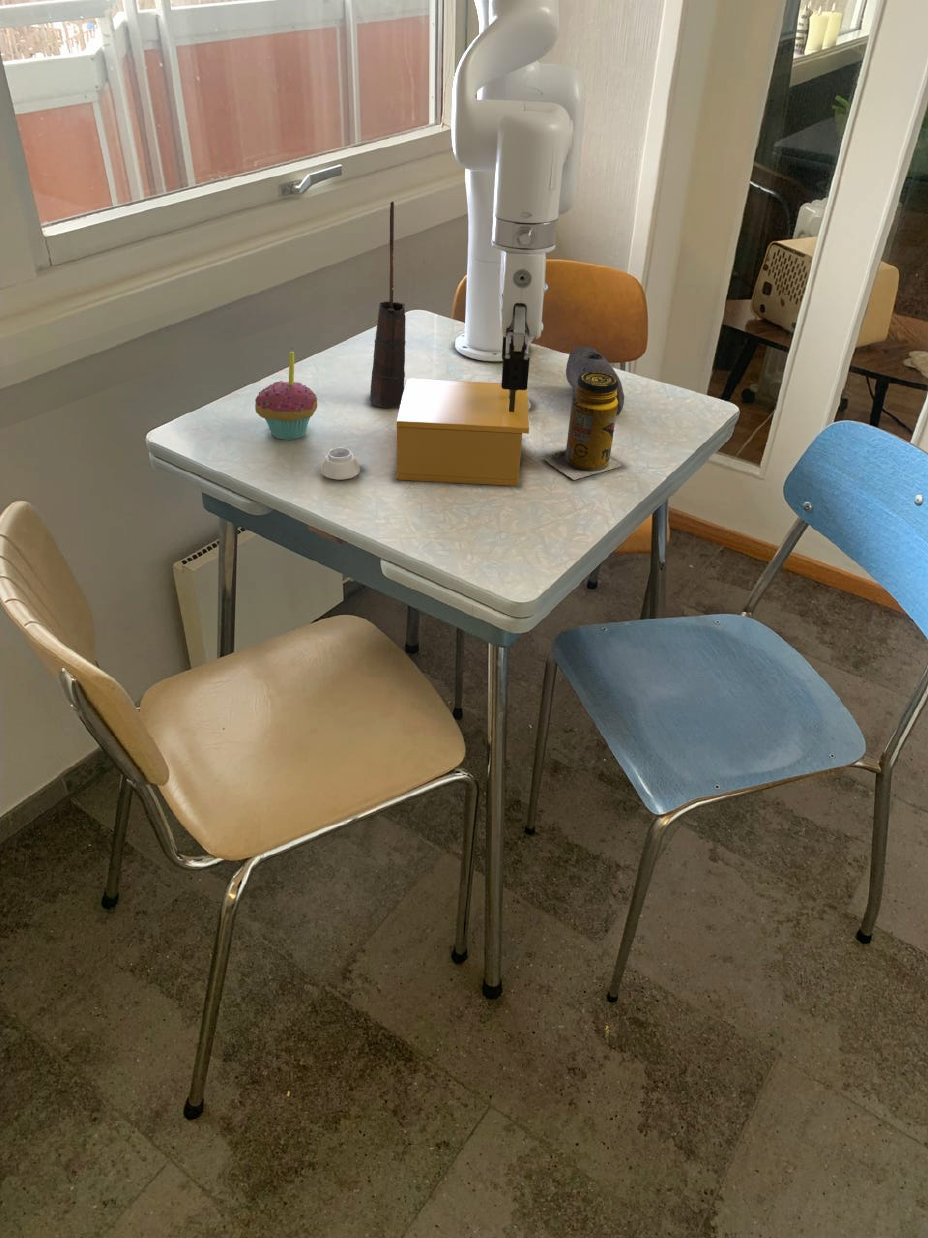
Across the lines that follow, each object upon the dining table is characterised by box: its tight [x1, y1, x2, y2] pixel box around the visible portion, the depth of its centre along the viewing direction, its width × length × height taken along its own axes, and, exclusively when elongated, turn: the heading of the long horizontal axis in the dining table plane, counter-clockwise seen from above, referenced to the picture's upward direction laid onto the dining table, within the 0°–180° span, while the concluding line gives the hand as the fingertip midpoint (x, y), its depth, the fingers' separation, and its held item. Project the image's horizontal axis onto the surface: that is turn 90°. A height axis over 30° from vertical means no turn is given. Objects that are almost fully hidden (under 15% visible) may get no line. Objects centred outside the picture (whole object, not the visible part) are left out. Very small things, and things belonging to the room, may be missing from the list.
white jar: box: [320, 447, 361, 481], centre depth 119 cm, size 5×3×5 cm
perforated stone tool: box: [565, 346, 625, 417], centre depth 139 cm, size 15×5×7 cm, turn 18°
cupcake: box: [254, 345, 318, 441], centre depth 125 cm, size 9×8×12 cm
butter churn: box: [369, 201, 407, 409], centre depth 130 cm, size 9×10×28 cm
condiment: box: [540, 372, 623, 481], centre depth 122 cm, size 7×8×12 cm
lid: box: [396, 377, 530, 434], centre depth 119 cm, size 17×14×5 cm
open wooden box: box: [396, 426, 523, 487], centre depth 123 cm, size 16×14×7 cm
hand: (513, 373), depth 117 cm, fingers open, 9 cm apart
